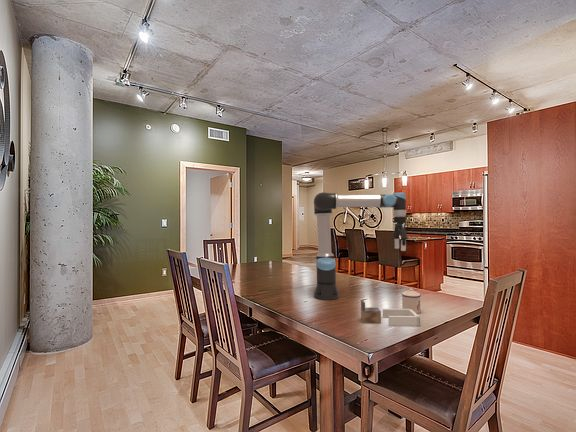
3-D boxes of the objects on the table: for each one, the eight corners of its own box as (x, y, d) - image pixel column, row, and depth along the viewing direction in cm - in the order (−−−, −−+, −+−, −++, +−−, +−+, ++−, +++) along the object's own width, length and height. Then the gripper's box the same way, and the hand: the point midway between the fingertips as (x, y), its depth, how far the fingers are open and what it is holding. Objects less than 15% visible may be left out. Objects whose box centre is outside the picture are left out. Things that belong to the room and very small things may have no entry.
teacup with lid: (421, 314, 154) (421, 291, 154) (402, 313, 157) (401, 290, 157) (419, 308, 165) (419, 286, 165) (401, 306, 168) (401, 285, 168)
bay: (389, 325, 139) (389, 316, 139) (382, 316, 151) (382, 308, 151) (420, 326, 138) (420, 317, 138) (411, 317, 150) (410, 308, 150)
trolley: (363, 323, 143) (362, 303, 143) (361, 319, 149) (360, 299, 149) (380, 323, 142) (380, 303, 142) (378, 319, 148) (377, 300, 148)
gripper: (412, 216, 187) (412, 251, 187) (399, 216, 212) (400, 247, 212) (399, 216, 188) (400, 251, 188) (388, 216, 213) (388, 247, 212)
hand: (400, 249), depth 200 cm, fingers open, 13 cm apart
